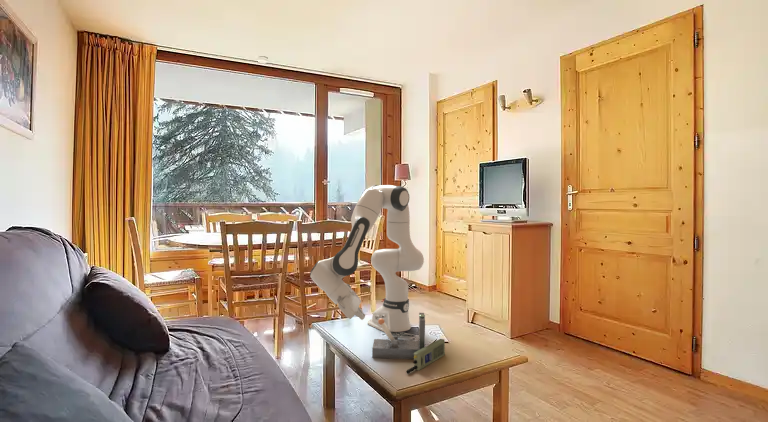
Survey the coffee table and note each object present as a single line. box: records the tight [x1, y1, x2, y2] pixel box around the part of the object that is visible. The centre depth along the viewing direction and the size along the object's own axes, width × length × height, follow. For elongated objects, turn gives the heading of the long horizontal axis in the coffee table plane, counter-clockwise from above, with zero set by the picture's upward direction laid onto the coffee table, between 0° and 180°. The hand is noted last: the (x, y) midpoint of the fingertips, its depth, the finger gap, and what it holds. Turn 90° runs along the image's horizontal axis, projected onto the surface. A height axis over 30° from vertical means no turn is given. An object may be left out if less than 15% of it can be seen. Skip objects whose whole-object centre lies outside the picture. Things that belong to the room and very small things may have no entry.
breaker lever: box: [378, 318, 395, 343], centre depth 168 cm, size 3×3×12 cm
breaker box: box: [371, 312, 426, 360], centre depth 168 cm, size 21×10×17 cm, turn 87°
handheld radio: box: [405, 338, 446, 374], centre depth 159 cm, size 7×3×25 cm
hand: (363, 317), depth 168 cm, fingers closed
